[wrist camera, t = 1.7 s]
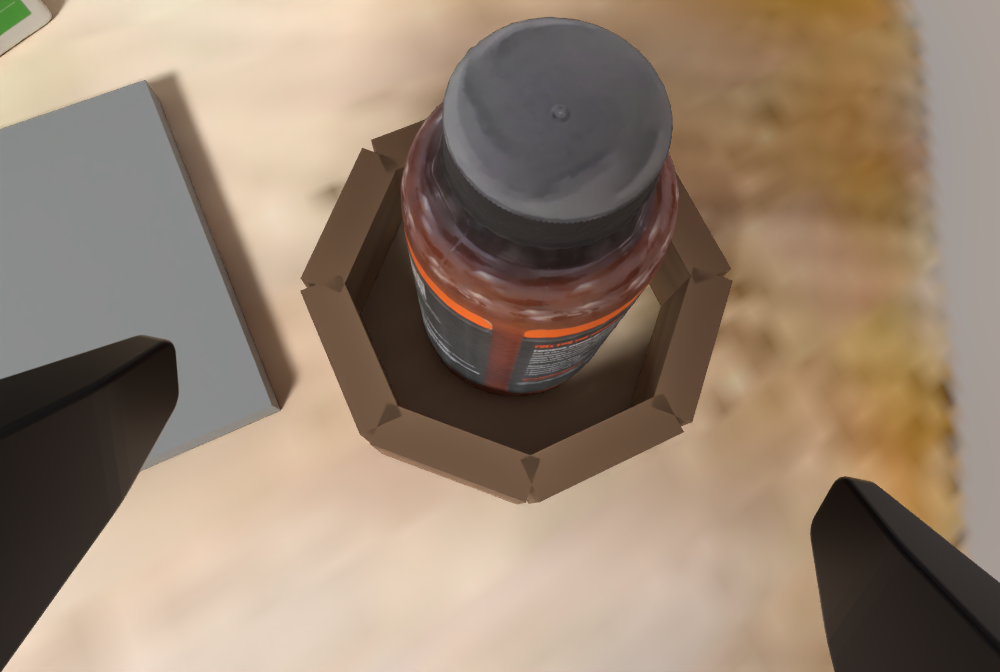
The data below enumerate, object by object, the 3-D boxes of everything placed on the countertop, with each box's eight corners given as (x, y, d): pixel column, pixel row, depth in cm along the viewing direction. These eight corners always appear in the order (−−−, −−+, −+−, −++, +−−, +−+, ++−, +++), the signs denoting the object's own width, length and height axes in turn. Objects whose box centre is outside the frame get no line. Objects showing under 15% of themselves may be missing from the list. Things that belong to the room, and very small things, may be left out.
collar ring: (749, 396, 22) (793, 378, 19) (420, 556, 20) (413, 563, 17) (589, 106, 24) (606, 51, 21) (281, 225, 23) (255, 183, 20)
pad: (280, 410, 21) (271, 405, 20) (-126, 586, 19) (-157, 590, 18) (157, 97, 23) (144, 79, 22) (-212, 225, 22) (-244, 212, 21)
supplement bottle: (637, 298, 23) (803, 97, 12) (529, 438, 21) (602, 358, 10) (497, 193, 23) (531, -89, 12) (384, 322, 22) (308, 131, 11)
